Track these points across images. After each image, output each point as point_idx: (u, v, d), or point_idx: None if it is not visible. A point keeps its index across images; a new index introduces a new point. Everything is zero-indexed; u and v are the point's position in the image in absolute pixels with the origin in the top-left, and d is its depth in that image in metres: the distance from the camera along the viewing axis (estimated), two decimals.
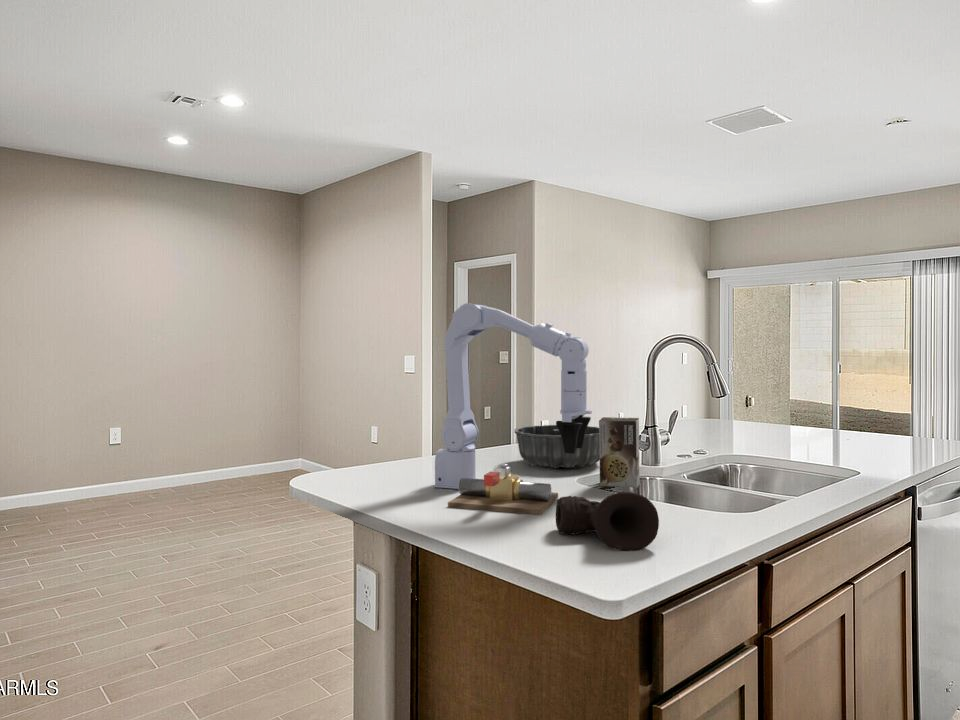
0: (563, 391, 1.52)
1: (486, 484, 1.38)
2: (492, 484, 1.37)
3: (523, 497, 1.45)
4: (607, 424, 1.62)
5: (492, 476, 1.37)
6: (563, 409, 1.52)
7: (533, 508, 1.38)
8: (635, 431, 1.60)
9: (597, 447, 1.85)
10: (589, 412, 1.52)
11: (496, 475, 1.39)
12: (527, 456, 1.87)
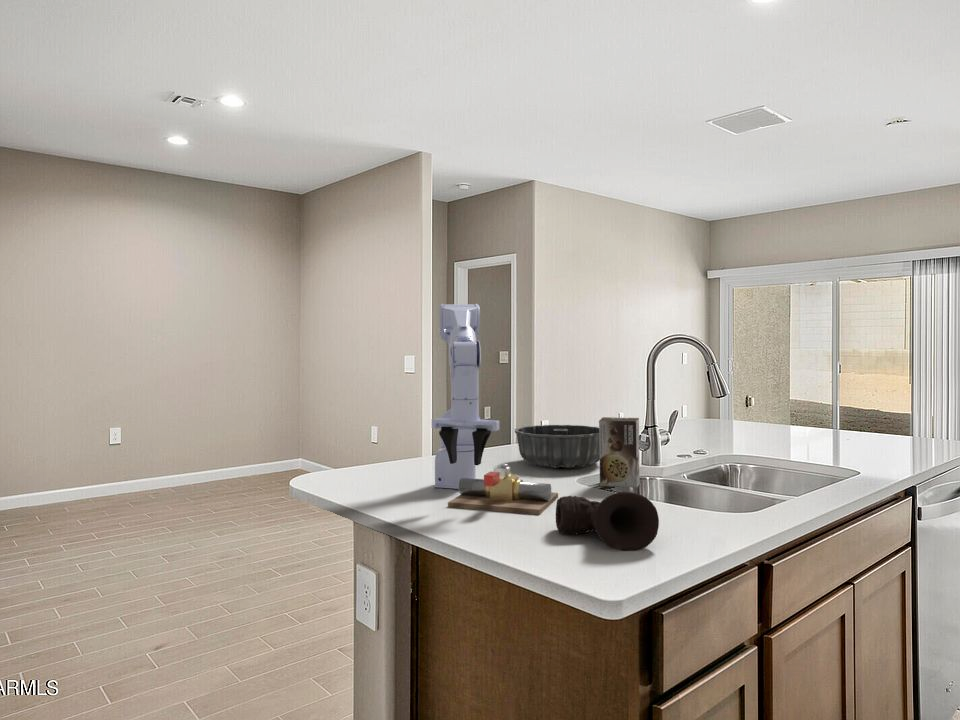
0: None
1: (486, 484, 1.38)
2: (492, 484, 1.37)
3: (523, 497, 1.45)
4: (607, 424, 1.62)
5: (492, 476, 1.37)
6: None
7: (533, 508, 1.38)
8: (635, 431, 1.60)
9: (597, 447, 1.85)
10: (454, 423, 1.38)
11: (496, 475, 1.39)
12: (527, 456, 1.87)
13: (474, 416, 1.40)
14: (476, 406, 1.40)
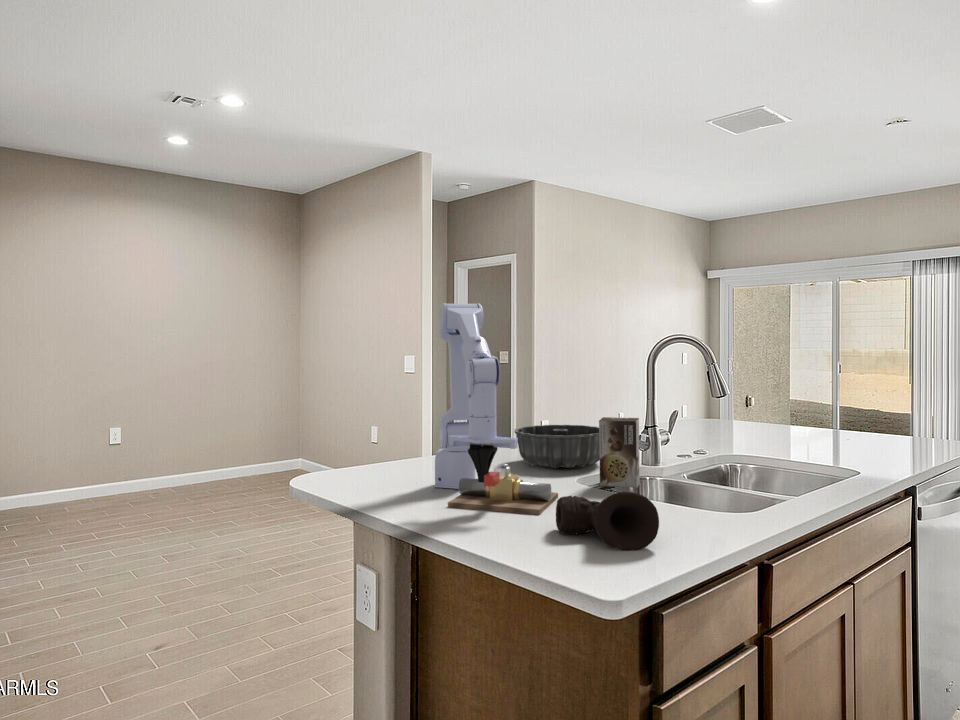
0: None
1: (486, 484, 1.38)
2: (492, 484, 1.37)
3: (523, 497, 1.45)
4: (607, 424, 1.62)
5: (492, 476, 1.37)
6: None
7: (533, 508, 1.38)
8: (635, 431, 1.60)
9: (597, 447, 1.85)
10: (472, 441, 1.37)
11: (496, 475, 1.39)
12: (527, 456, 1.87)
13: (492, 433, 1.38)
14: (494, 424, 1.39)
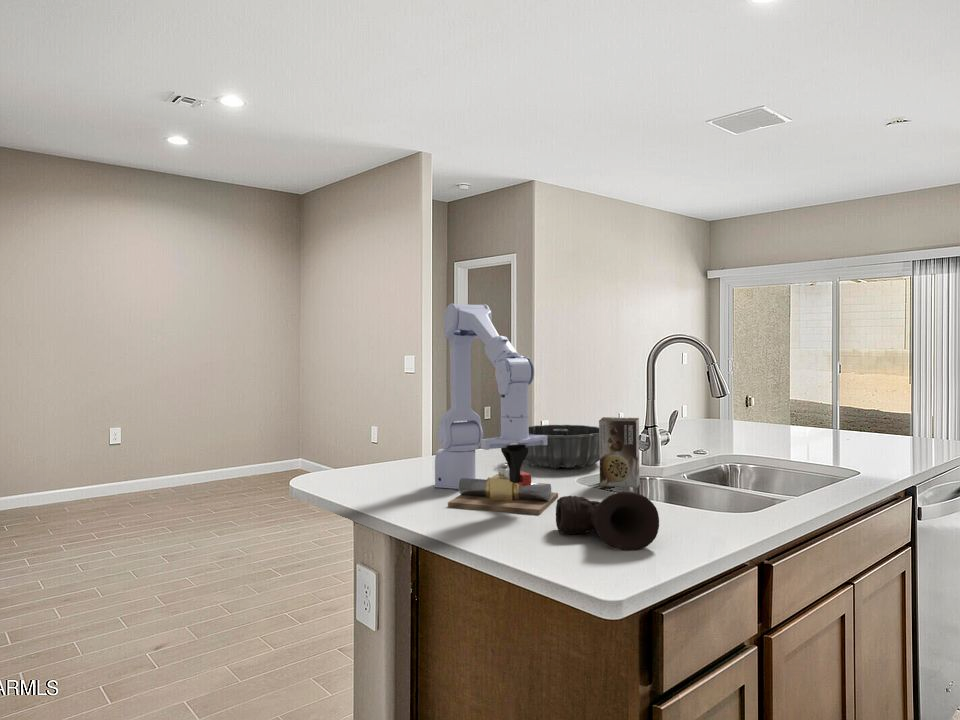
0: None
1: (524, 484, 1.38)
2: (530, 483, 1.38)
3: (523, 497, 1.45)
4: (607, 424, 1.62)
5: (530, 475, 1.38)
6: None
7: (533, 508, 1.38)
8: (635, 431, 1.60)
9: (597, 447, 1.85)
10: (519, 441, 1.36)
11: None
12: (527, 456, 1.87)
13: (528, 432, 1.39)
14: None
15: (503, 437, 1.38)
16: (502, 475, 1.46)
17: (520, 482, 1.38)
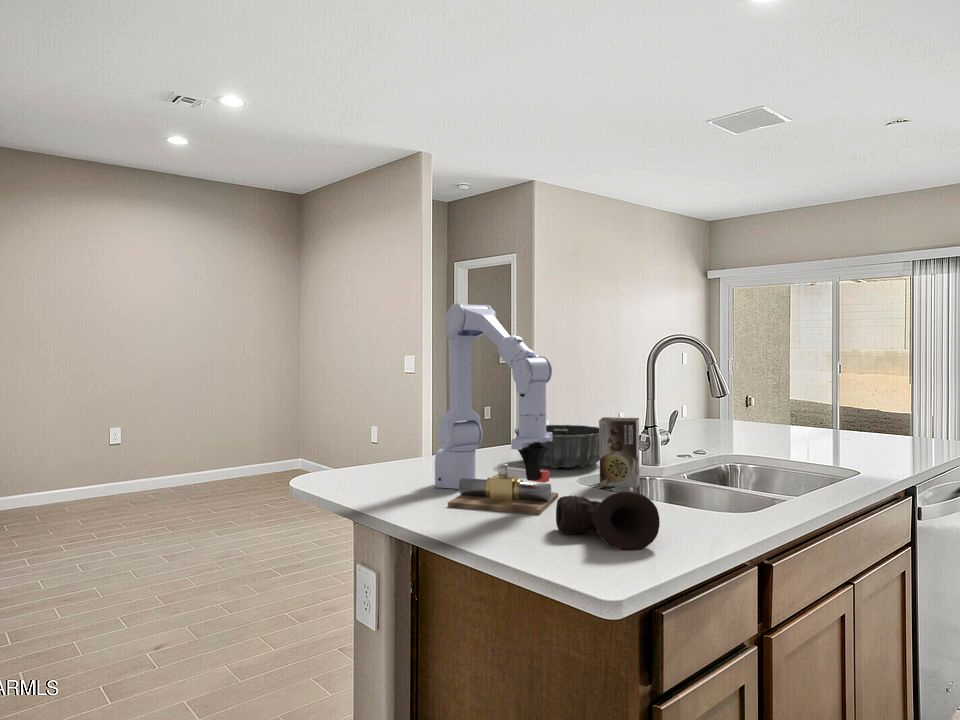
0: (519, 415, 1.41)
1: (545, 480, 1.41)
2: (548, 479, 1.42)
3: (523, 497, 1.45)
4: (607, 424, 1.62)
5: (548, 471, 1.42)
6: (519, 435, 1.41)
7: (533, 508, 1.38)
8: (635, 431, 1.60)
9: (597, 447, 1.85)
10: (546, 439, 1.39)
11: None
12: None
13: None
14: None
15: (527, 436, 1.39)
16: (505, 475, 1.46)
17: (540, 479, 1.41)
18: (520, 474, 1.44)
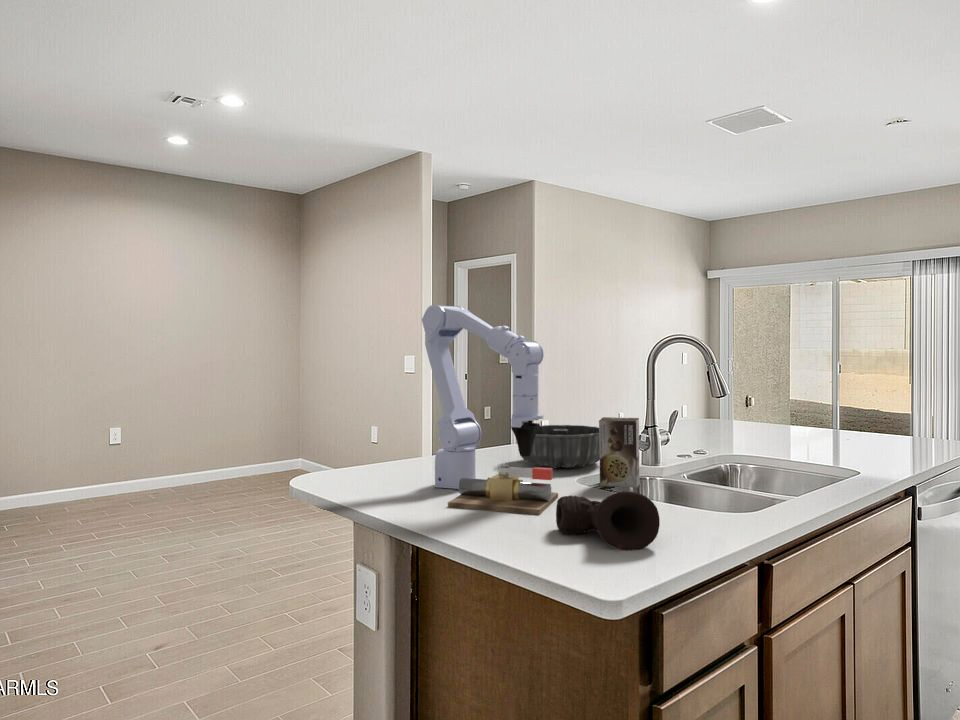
0: (514, 396, 1.50)
1: (551, 478, 1.44)
2: (552, 476, 1.45)
3: (523, 497, 1.45)
4: (607, 424, 1.62)
5: (552, 469, 1.45)
6: (514, 414, 1.50)
7: (533, 508, 1.38)
8: (635, 431, 1.60)
9: (597, 447, 1.85)
10: (540, 417, 1.49)
11: None
12: (527, 456, 1.87)
13: None
14: None
15: (523, 415, 1.49)
16: (507, 475, 1.46)
17: (546, 477, 1.43)
18: (523, 473, 1.45)
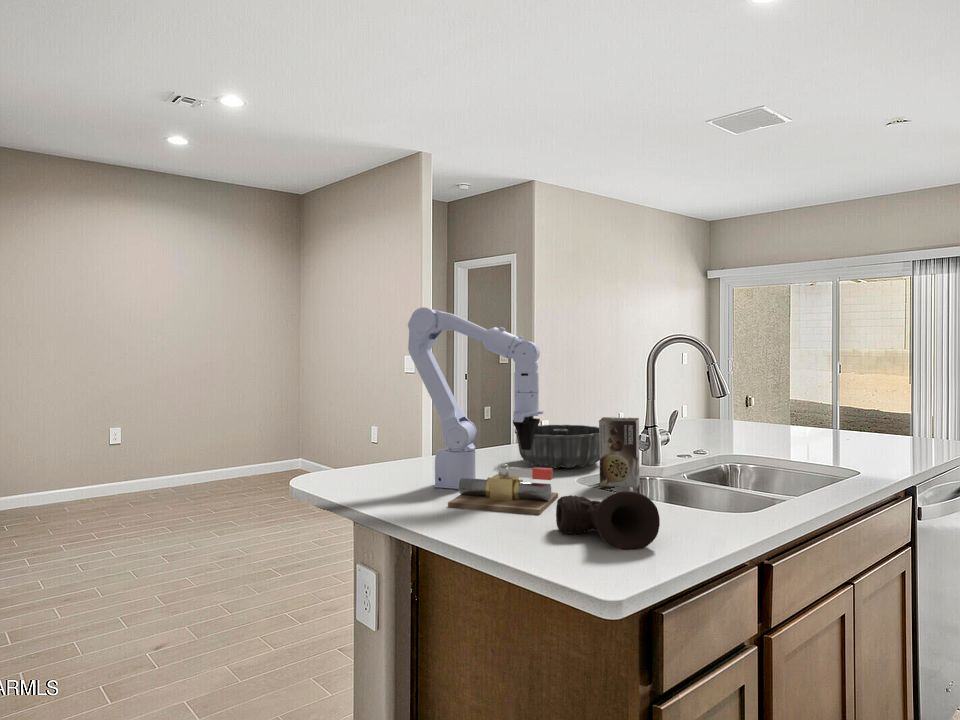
0: (516, 392, 1.58)
1: (551, 478, 1.44)
2: (552, 476, 1.45)
3: (523, 497, 1.45)
4: (607, 424, 1.62)
5: (552, 469, 1.45)
6: (516, 409, 1.59)
7: (533, 508, 1.38)
8: (635, 431, 1.60)
9: (597, 447, 1.85)
10: (540, 412, 1.58)
11: None
12: (527, 456, 1.87)
13: None
14: None
15: (524, 410, 1.57)
16: (507, 475, 1.46)
17: (546, 477, 1.43)
18: (523, 473, 1.45)
